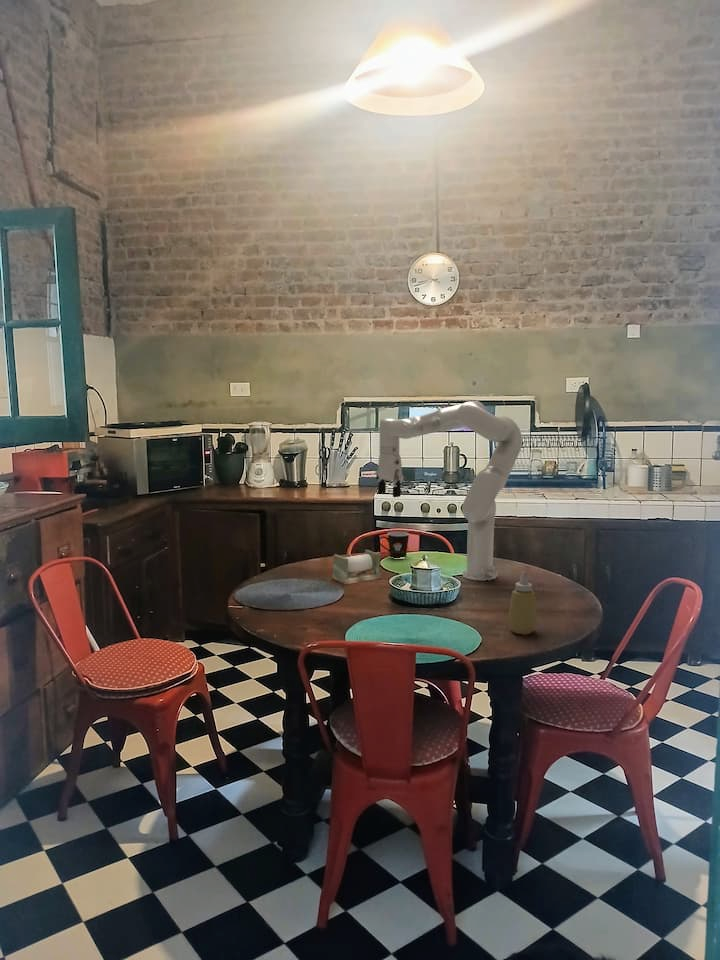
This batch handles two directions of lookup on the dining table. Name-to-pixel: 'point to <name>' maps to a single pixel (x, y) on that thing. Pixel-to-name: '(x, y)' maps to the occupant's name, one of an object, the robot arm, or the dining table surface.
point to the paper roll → (359, 563)
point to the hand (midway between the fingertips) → (389, 495)
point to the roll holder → (348, 578)
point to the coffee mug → (397, 544)
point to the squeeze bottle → (523, 607)
